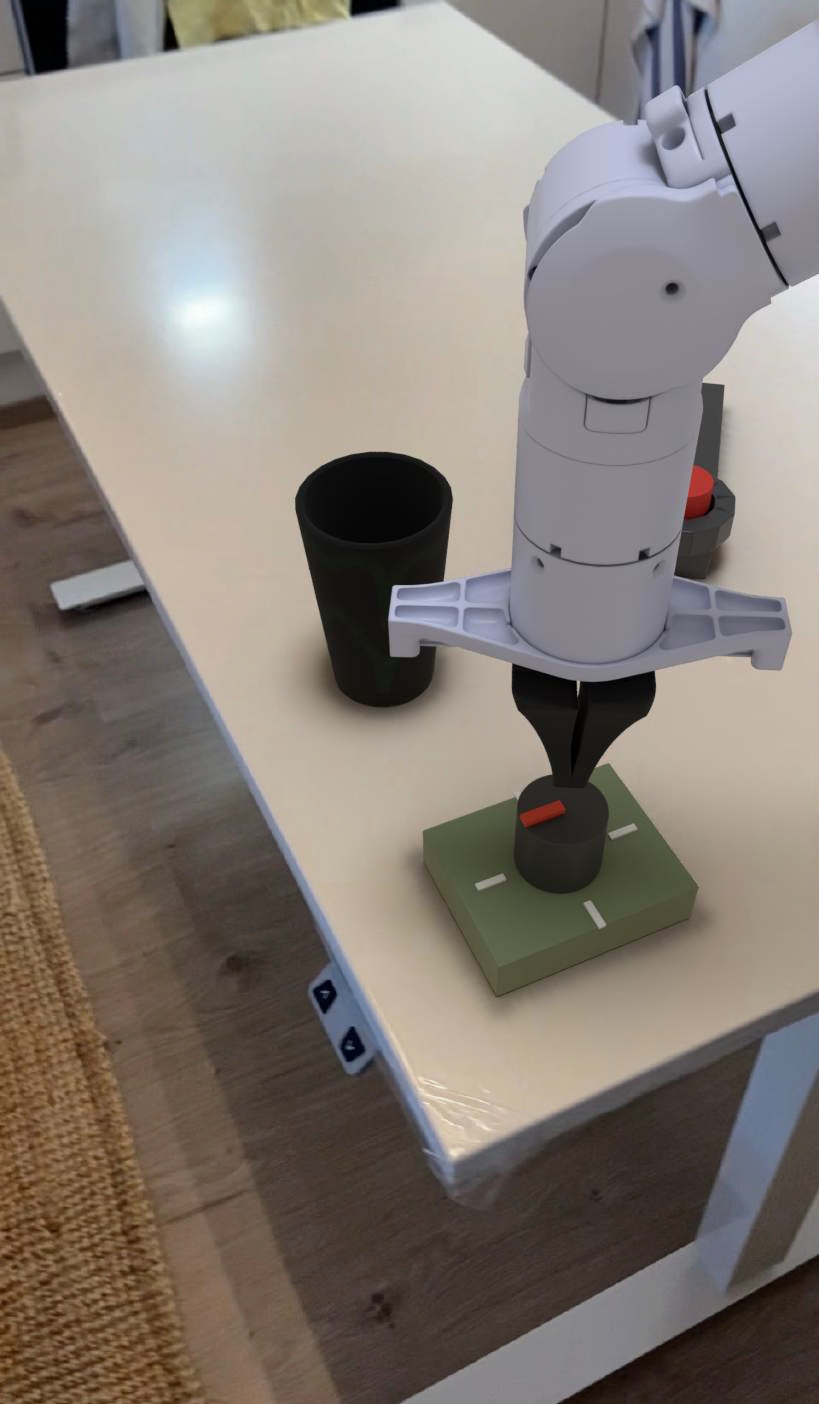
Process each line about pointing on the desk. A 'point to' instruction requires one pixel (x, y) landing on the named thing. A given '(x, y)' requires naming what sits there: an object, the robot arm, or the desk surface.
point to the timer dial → (560, 835)
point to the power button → (698, 493)
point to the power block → (718, 520)
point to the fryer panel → (555, 926)
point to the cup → (373, 563)
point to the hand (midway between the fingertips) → (569, 769)
